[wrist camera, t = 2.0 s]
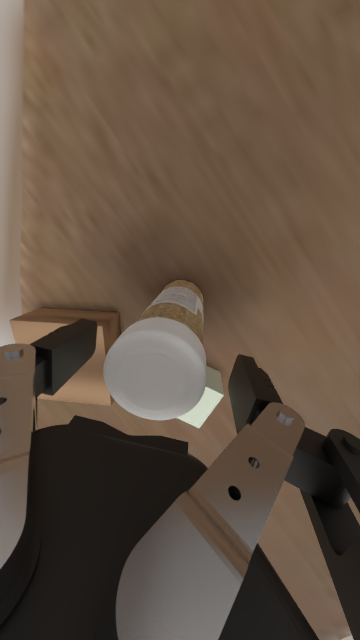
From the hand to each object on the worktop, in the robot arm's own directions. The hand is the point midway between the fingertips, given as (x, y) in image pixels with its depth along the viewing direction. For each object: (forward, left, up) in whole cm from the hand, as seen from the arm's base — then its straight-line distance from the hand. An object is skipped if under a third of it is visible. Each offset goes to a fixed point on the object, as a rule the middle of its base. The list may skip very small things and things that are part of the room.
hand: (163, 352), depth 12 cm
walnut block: (+8, -10, -10) cm, 16 cm away
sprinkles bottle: (0, 0, -11) cm, 11 cm away
